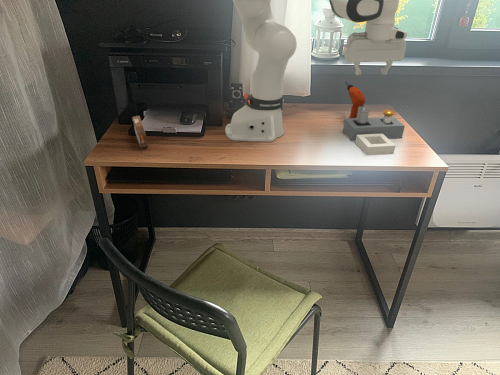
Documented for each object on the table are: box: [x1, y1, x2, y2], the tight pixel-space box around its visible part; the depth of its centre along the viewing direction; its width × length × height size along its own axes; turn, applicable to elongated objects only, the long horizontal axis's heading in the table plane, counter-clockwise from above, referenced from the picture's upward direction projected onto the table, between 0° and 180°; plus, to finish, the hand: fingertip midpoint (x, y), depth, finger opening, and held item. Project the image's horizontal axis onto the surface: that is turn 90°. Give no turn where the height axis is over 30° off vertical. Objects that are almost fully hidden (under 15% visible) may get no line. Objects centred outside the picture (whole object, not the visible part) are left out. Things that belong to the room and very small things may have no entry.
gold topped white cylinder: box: [382, 108, 396, 125], centre depth 143 cm, size 4×4×9 cm
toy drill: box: [344, 80, 366, 118], centre depth 152 cm, size 5×19×15 cm, turn 8°
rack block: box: [354, 134, 396, 156], centre depth 134 cm, size 10×10×3 cm
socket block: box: [342, 116, 406, 142], centre depth 143 cm, size 20×9×5 cm, turn 99°
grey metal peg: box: [356, 104, 371, 126], centre depth 141 cm, size 4×4×11 cm
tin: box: [131, 115, 149, 148], centre depth 133 cm, size 15×3×8 cm, turn 22°
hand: (370, 74), depth 132 cm, fingers open, 8 cm apart
